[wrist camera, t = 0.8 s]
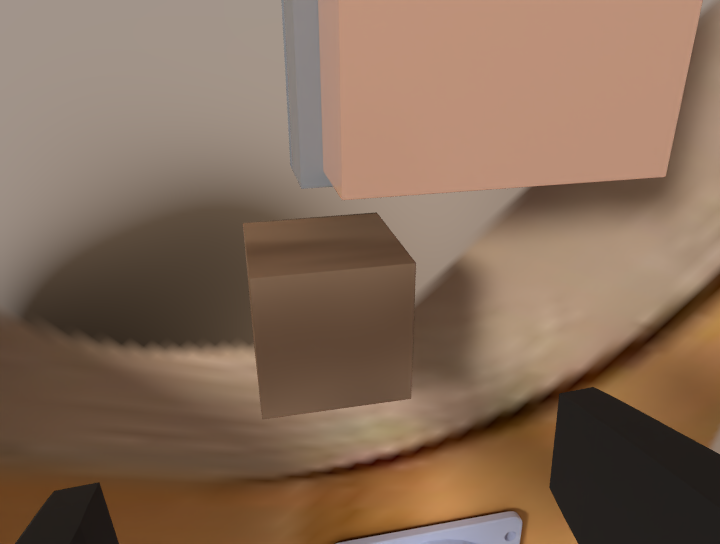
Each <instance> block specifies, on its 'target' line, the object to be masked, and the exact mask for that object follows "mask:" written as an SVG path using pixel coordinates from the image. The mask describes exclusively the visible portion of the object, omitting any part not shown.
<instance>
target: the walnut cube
mask: <svg viewBox="0 0 720 544" xmlns="http://www.w3.org/2000/svg"><path fill="white" fill-rule="evenodd" d="M243 229H244V240H245V249H246V262H247V273H248V283H249V295H250V306H251V316H252V328H253V338H254V348H255V357H256V366H257V375H258V384H259V393H260V402H261V411H262V419H269V418H276V417H283V416H290V415H298V414H305V413H312V412H319V411H326V410H333V409H340V408H348V407H355V406H362V405H369V404H376V403H383V402H391V401H398V400H405V399H411V388H412V360H413V331H414V303H415V274H416V273H415V272H416V263H415V261H414V260H413V259H412V257H411V256H410V255H409V254H408V252H407V251H406V250H405V248H404V247H403V246H402V245H401V243H400V242H399V241H398V239H397V238H396V237H395V236H394V234H393V233H392V232H391V231H390V229H389V228H388V227H387V225H386V224H385V223H384V221H383V220H382V219H381V217H380V216H379V215H378V214H377V212H375V213H363V214H350V215H338V216H337V215H336V216H324V217H310V218H298V219H297V218H296V219H283V220H270V221H257V222H245V223H243Z"/></svg>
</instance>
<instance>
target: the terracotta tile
mask: <svg viewBox="0 0 720 544" xmlns="http://www.w3.org/2000/svg"><path fill="white" fill-rule="evenodd" d="M702 1H703V0H318V17H319V50H320V82H321V114H322V146H323V171H324V173H325V175H326V176H327V178H328V179H329V181H330V182H331V184H332V185H333V187H334V188H335V190H336V191H337V193H338V194H339V196H340V198H341V199H342V200H350V199H364V198H378V197H392V196H406V195H420V194H434V193H447V192H461V191H475V190H488V189H503V188H517V187H531V186H545V185H558V184H572V183H586V182H600V181H614V180H628V179H642V178H656V177H666V172H667V168H668V163H669V158H670V153H671V149H672V144H673V139H674V134H675V130H676V125H677V120H678V115H679V111H680V106H681V101H682V96H683V92H684V87H685V82H686V77H687V73H688V68H689V63H690V58H691V54H692V49H693V44H694V40H695V35H696V30H697V25H698V21H699V16H700V11H701V6H702Z"/></svg>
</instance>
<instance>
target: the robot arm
mask: <svg viewBox="0 0 720 544" xmlns="http://www.w3.org/2000/svg"><path fill="white" fill-rule="evenodd" d="M549 488H550V490H551V492H552V494H553V496H554V498H555V500H556V502H557V504H558V506H559V508H560V510H561V512H562V514H563V516H564V518H565V520H566V522H567V523H568V525H569V527H570V529H571V531H572V533H573V535H574V537H575V538H576V540H577V542H578V544H720V454H718V453H716V452H715V451H713V450H711V449H709V448H707V447H705V446H703V445H701V444H699V443H698V442H696V441H694V440H692V439H690V438H688V437H686V436H685V435H683V434H681V433H679V432H677V431H675V430H674V429H672V428H670V427H668V426H666V425H664V424H663V423H661V422H659V421H657V420H655V419H653V418H652V417H650V416H648V415H646V414H644V413H642V412H641V411H639V410H637V409H635V408H633V407H631V406H629V405H628V404H626V403H624V402H622V401H620V400H618V399H616V398H614V397H612V396H610V395H608V394H606V393H604V392H602V391H600V390H598V389H596V388H594V387H591V388H586V389H581V390H576V391H570V392H565V393H560V394H559V403H558V412H557V421H556V431H555V440H554V450H553V459H552V468H551V478H550V487H549ZM521 531H522V520H521V518H520V516H519V515H518V514H517V512H514V511H507V512H502V513H497V514H491V515H486V516H480V517H475V518H470V519H464V520H459V521H453V522H448V523H442V524H437V525H432V526H426V527H421V528H415V529H410V530H404V531H399V532H394V533H388V534H383V535H377V536H372V537H366V538H361V539H356V540H350V541H345V542H339V543H336V544H520V538H521ZM15 544H119V543H118V540H117V537H116V533H115V530H114V527H113V524H112V521H111V518H110V515H109V511H108V508H107V505H106V502H105V499H104V496H103V493H102V490H101V486H100V483H93V484H88V485H83V486H78V487H73V488H67V489H62V490H57V491H54V492H53V493H52V494H51V496H50V497H49V498H48V499H47V501H46V502H45V503H44V505H43V506H42V507H41V509H40V510H39V511H38V513H37V514H36V516H35V517H34V518H33V520H32V521H31V522H30V524H29V525H28V527H27V528H26V529H25V531H24V532H23V533H22V535H21V536H20V538H19V539H18V540H17V542H16V543H15Z"/></svg>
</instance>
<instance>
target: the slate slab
mask: <svg viewBox="0 0 720 544" xmlns="http://www.w3.org/2000/svg"><path fill="white" fill-rule="evenodd" d="M281 3H282V21H283V40H284V57H285V76H286V93H287V94H286V95H287V113H288V131H289V150H290V165H291V168H292V170H293V172H294V174H295V176H296V178H297V180H298V183H299V185H300V187H301V188H302V189H304V188H319V187H333V185H332V184H331V182H330V181H329V179H328V178H327V176H326V175H325V173H324V171H323V146H322V114H321V82H320V50H319V17H318V0H281Z"/></svg>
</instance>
